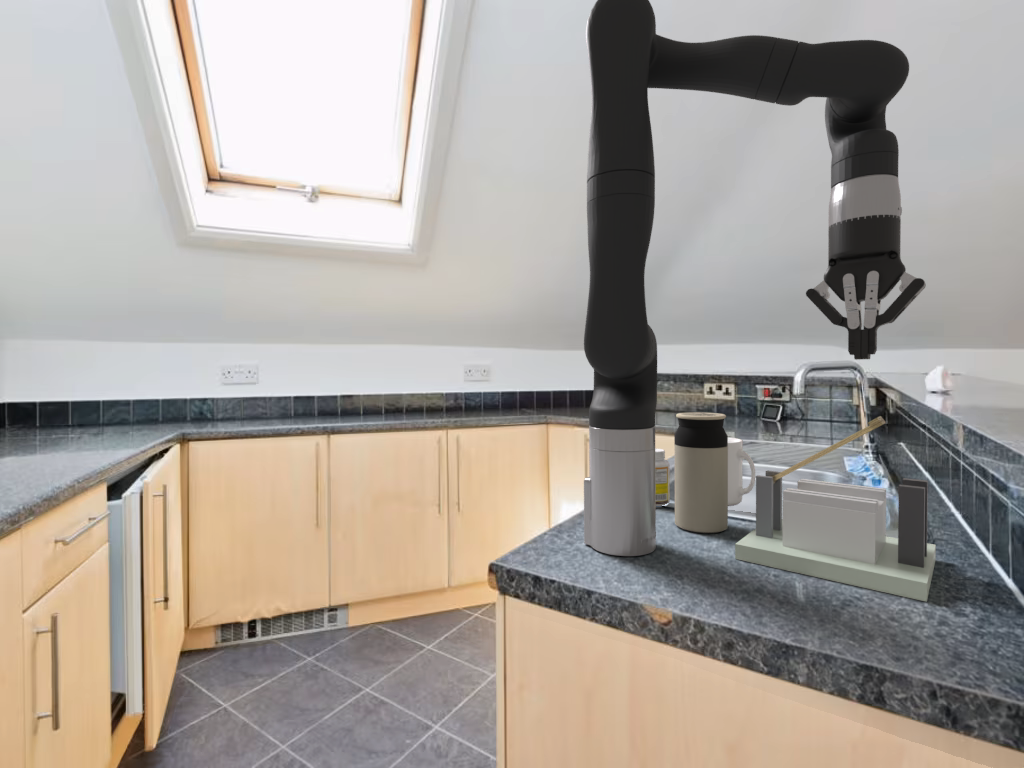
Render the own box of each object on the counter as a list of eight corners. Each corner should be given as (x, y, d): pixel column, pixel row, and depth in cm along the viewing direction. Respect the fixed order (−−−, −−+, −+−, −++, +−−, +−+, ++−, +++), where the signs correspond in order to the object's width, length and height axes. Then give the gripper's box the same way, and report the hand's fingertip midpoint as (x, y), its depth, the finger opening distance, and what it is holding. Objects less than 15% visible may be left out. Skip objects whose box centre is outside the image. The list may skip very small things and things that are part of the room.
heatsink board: (735, 558, 70) (735, 475, 69) (770, 530, 82) (770, 458, 81) (926, 601, 56) (928, 498, 56) (935, 559, 68) (936, 474, 68)
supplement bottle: (646, 499, 102) (646, 446, 101) (674, 503, 98) (674, 449, 98) (633, 505, 97) (633, 450, 97) (662, 510, 94) (661, 453, 94)
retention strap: (764, 488, 73) (759, 480, 74) (771, 484, 75) (765, 476, 76) (884, 426, 64) (877, 417, 64) (887, 424, 66) (880, 415, 66)
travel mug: (713, 538, 78) (713, 417, 78) (665, 526, 84) (664, 414, 83) (736, 526, 84) (736, 413, 83) (689, 516, 89) (689, 411, 89)
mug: (696, 492, 107) (696, 435, 106) (761, 500, 100) (761, 439, 100) (683, 502, 99) (683, 441, 98) (752, 511, 92) (752, 445, 92)
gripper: (797, 225, 67) (796, 360, 68) (928, 202, 59) (927, 357, 59) (811, 235, 73) (810, 360, 73) (932, 216, 64) (931, 358, 65)
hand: (862, 359), depth 66 cm, fingers closed
